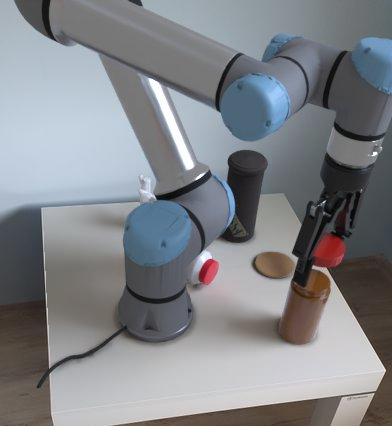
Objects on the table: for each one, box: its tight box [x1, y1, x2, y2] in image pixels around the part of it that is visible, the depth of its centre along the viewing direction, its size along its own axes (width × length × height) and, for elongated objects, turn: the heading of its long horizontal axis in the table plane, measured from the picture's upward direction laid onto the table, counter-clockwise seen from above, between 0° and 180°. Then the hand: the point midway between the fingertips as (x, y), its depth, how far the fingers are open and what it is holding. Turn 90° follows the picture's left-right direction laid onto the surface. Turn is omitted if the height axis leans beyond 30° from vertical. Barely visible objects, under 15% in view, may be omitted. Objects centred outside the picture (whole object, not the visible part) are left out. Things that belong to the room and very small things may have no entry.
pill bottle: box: [186, 249, 220, 286], centre depth 113 cm, size 8×8×11 cm
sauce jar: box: [278, 268, 332, 345], centre depth 102 cm, size 8×8×14 cm
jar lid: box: [313, 231, 346, 269], centre depth 92 cm, size 8×8×2 cm
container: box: [220, 149, 269, 243], centre depth 120 cm, size 9×9×20 cm
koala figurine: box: [137, 174, 156, 206], centre depth 122 cm, size 8×7×12 cm
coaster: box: [254, 251, 296, 280], centre depth 120 cm, size 9×9×1 cm
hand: (313, 273), depth 96 cm, fingers closed on jar lid, 8 cm apart
